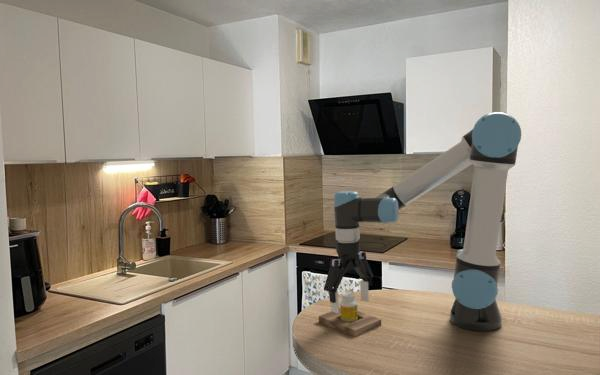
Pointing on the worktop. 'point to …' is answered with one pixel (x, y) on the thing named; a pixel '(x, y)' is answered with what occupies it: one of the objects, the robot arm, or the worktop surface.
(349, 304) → the supplement bottle
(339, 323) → the socket board
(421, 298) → the worktop surface
